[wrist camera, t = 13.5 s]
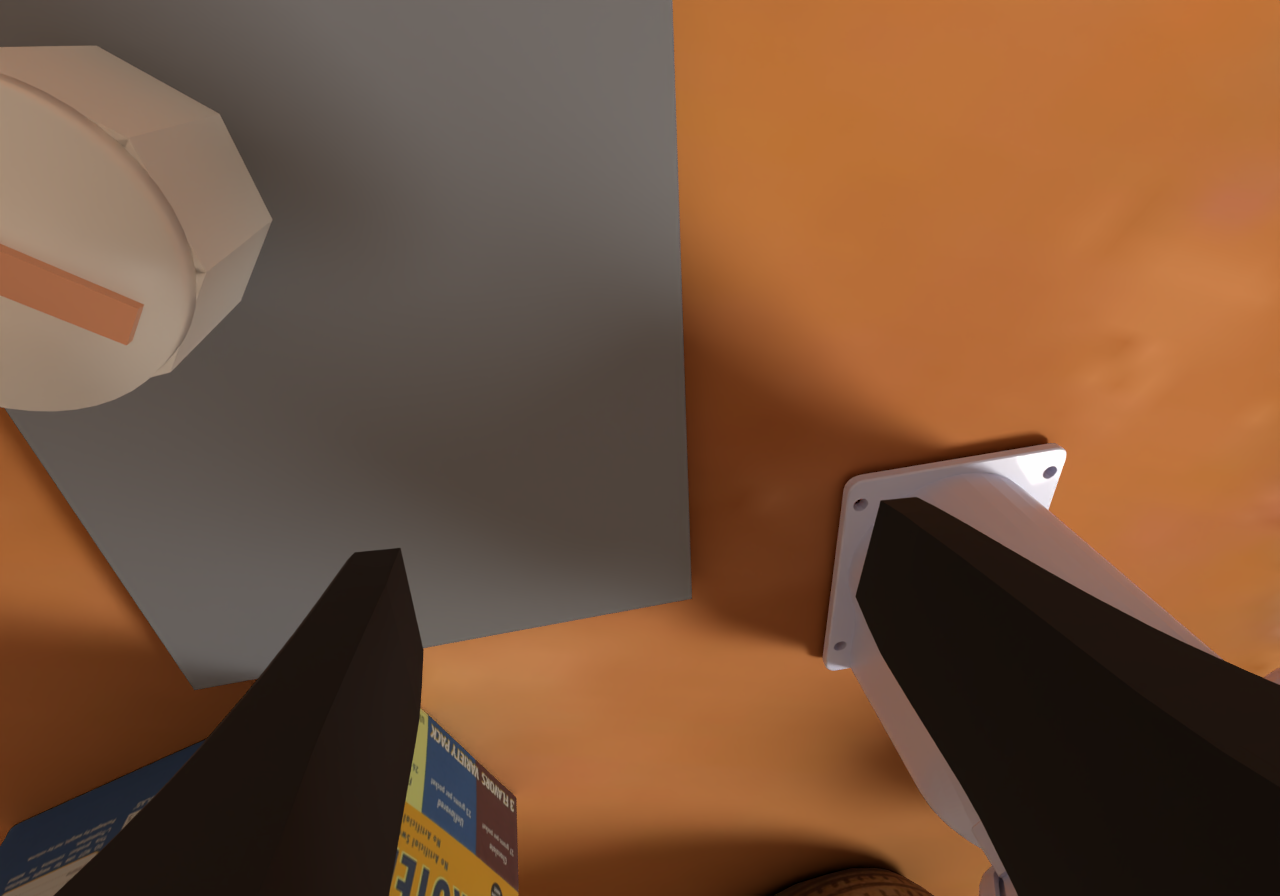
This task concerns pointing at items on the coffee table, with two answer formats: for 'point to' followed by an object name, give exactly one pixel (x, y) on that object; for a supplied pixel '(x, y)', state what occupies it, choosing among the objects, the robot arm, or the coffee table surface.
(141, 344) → the cap
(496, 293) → the base
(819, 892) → the ceramic vessel
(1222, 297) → the coffee table surface
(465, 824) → the protein box
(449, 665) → the coffee table surface
